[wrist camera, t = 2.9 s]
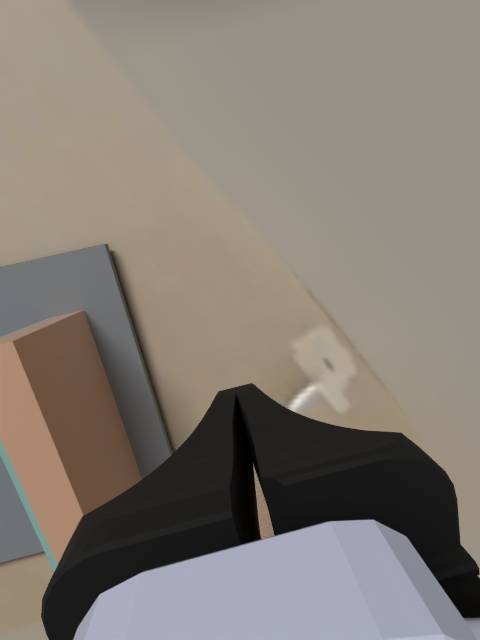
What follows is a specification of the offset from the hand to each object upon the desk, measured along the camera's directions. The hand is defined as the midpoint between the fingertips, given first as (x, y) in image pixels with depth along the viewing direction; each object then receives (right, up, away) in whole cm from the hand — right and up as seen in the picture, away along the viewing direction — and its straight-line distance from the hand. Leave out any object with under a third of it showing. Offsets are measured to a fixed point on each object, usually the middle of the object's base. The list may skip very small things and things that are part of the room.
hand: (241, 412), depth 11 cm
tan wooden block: (-7, -1, +3) cm, 8 cm away
